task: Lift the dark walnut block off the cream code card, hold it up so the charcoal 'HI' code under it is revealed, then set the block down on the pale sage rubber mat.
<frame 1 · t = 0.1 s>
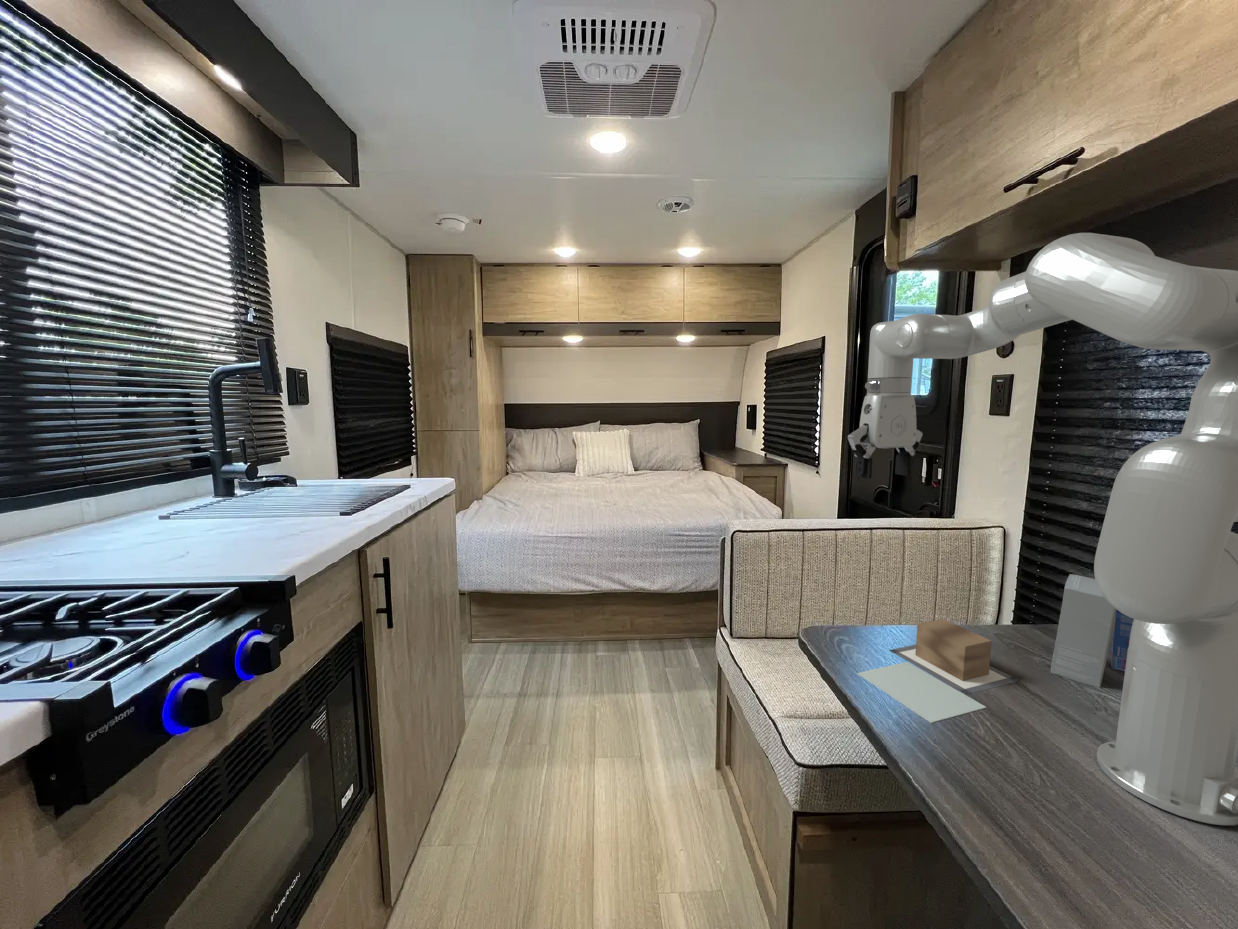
hand: (883, 476, 100), 31 cm above the table, fingers open, 9 cm apart
skincare box: (1078, 673, 86), on the table
sage mat: (918, 690, 82), on the table
ink cartridge box: (1131, 664, 89), on the table
walnut block: (950, 664, 89), on the table, touching code card
code card: (950, 664, 89), on the table
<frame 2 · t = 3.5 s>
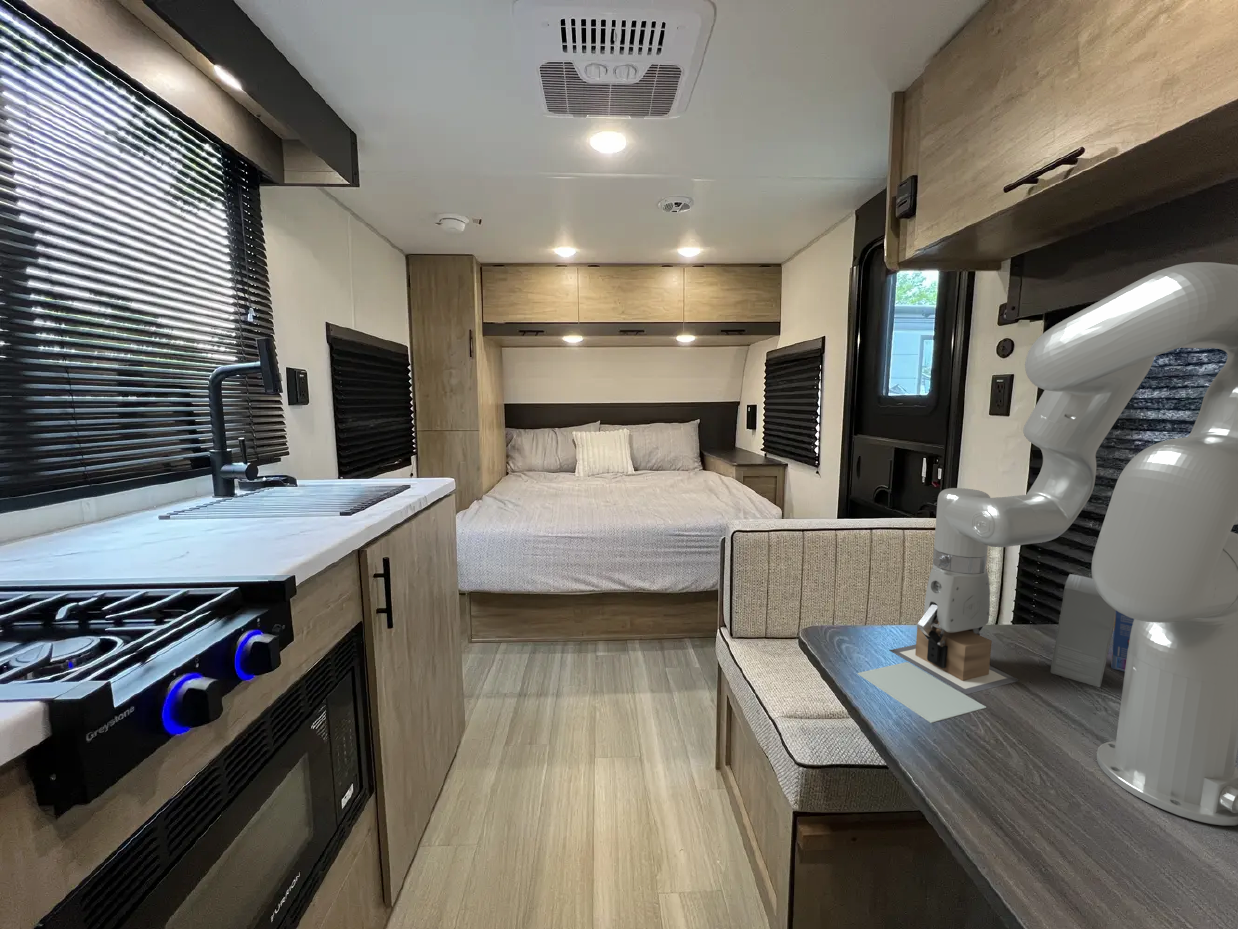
hand: (950, 660, 89), 1 cm above the table, fingers closed on walnut block, 6 cm apart
walnut block: (950, 664, 89), on the table, touching code card, gripper
everything else where it was.
when the fingers open (3 cm above the table, at t = 12.7 s): walnut block drops 2 cm, resting on sage mat.
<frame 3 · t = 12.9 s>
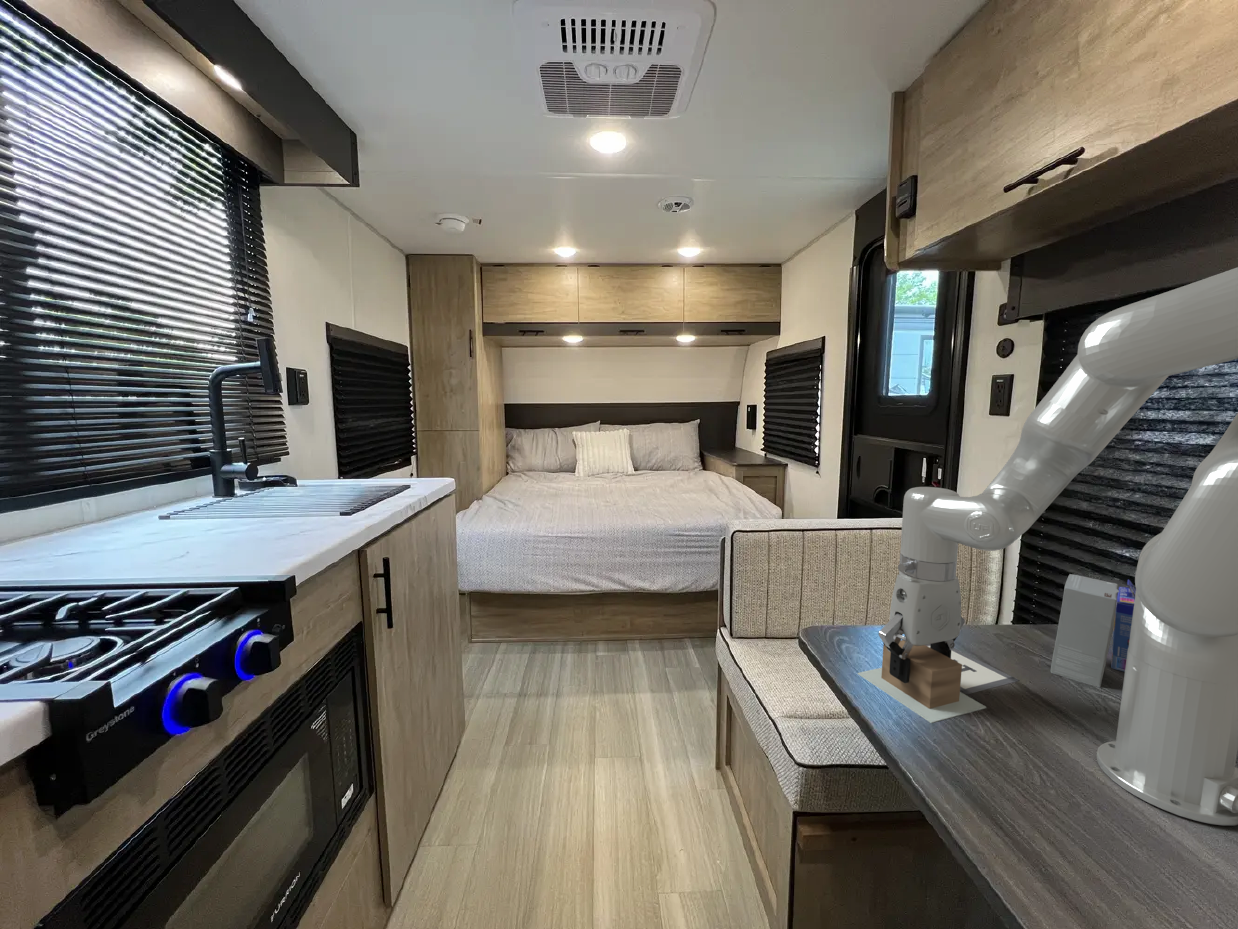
hand: (919, 673, 81), 3 cm above the table, fingers open, 7 cm apart
walnut block: (918, 689, 82), resting on sage mat
everything else where it was.
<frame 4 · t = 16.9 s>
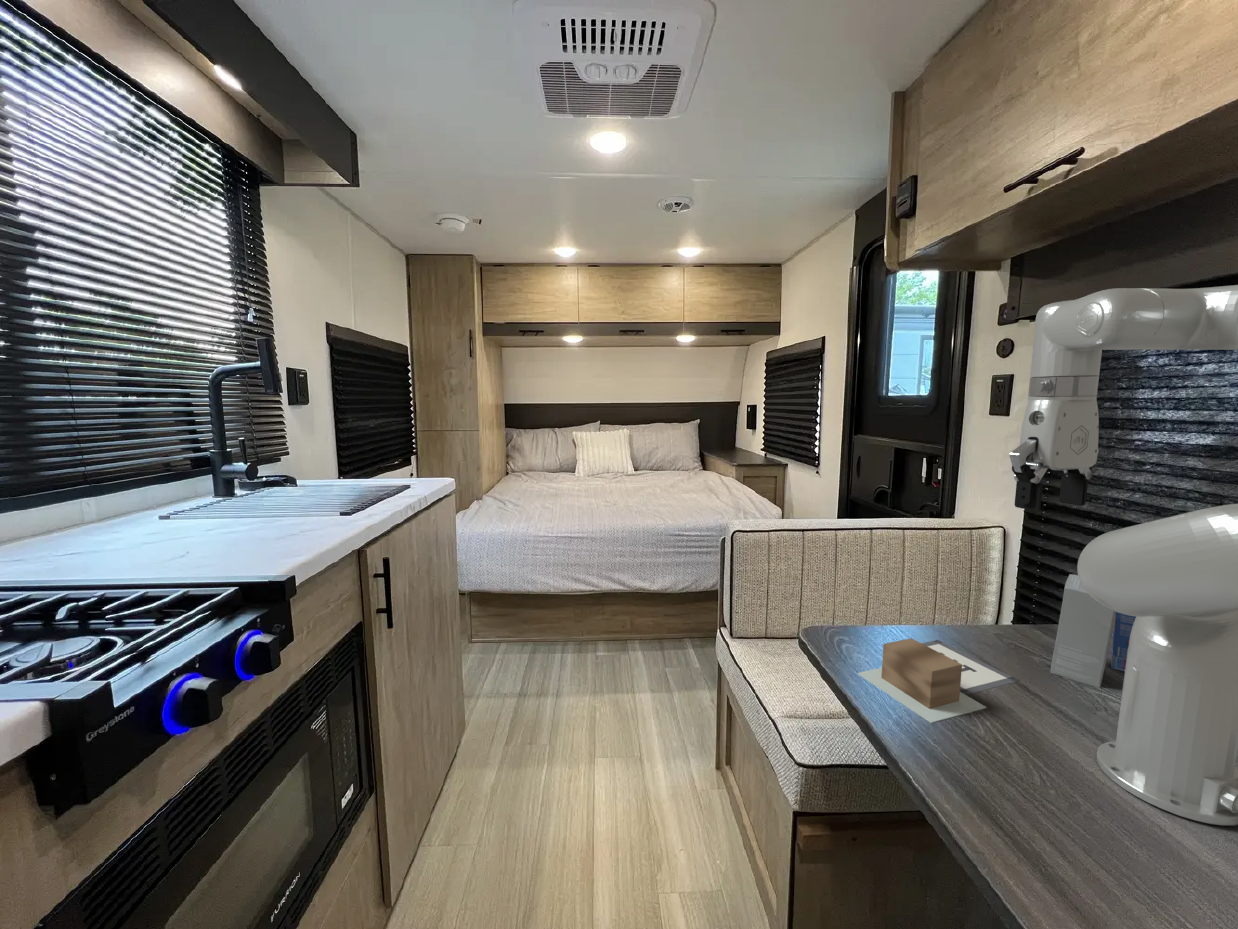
hand: (1049, 506, 76), 30 cm above the table, fingers open, 9 cm apart
nothing on the table moved.
at the end: walnut block inside the target area on the sage mat (0.0 cm from its centre), point 0.2 cm above the sage mat's base; walnut block tilted 0°; the gripper is holding nothing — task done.
